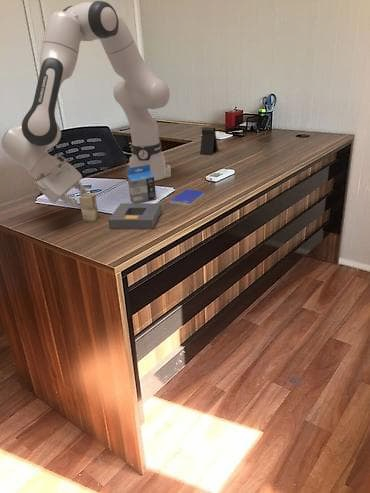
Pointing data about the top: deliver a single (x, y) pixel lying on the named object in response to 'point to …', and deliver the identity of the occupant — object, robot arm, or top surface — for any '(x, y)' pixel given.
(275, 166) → the top surface
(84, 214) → the birch peg
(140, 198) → the label tape box
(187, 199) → the hard drive
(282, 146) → the top surface
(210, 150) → the phone stand
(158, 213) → the block
